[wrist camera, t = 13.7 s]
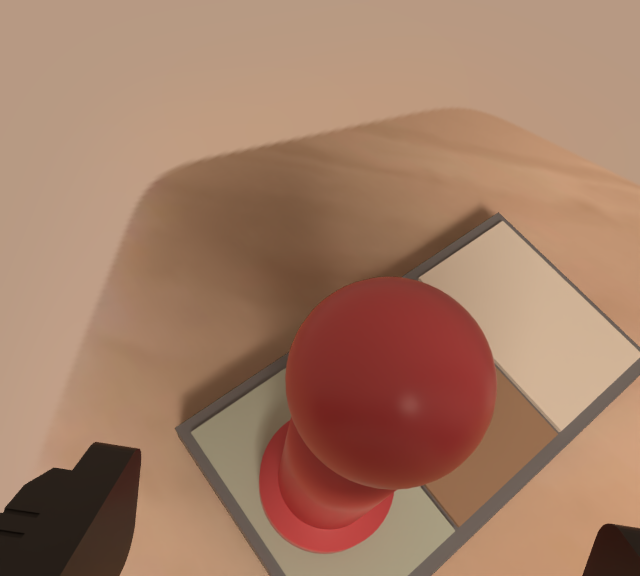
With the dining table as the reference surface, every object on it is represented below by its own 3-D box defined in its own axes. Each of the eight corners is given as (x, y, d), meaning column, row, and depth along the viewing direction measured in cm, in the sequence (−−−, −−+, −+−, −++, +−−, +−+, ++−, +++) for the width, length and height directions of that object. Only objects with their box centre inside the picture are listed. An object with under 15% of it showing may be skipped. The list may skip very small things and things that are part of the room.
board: (488, 227, 27) (500, 209, 26) (637, 371, 24) (657, 359, 23) (178, 436, 21) (174, 426, 20) (328, 665, 18) (334, 669, 17)
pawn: (333, 395, 21) (422, 183, 10) (412, 496, 20) (610, 369, 9) (233, 469, 19) (215, 305, 9) (311, 585, 18) (405, 559, 7)
